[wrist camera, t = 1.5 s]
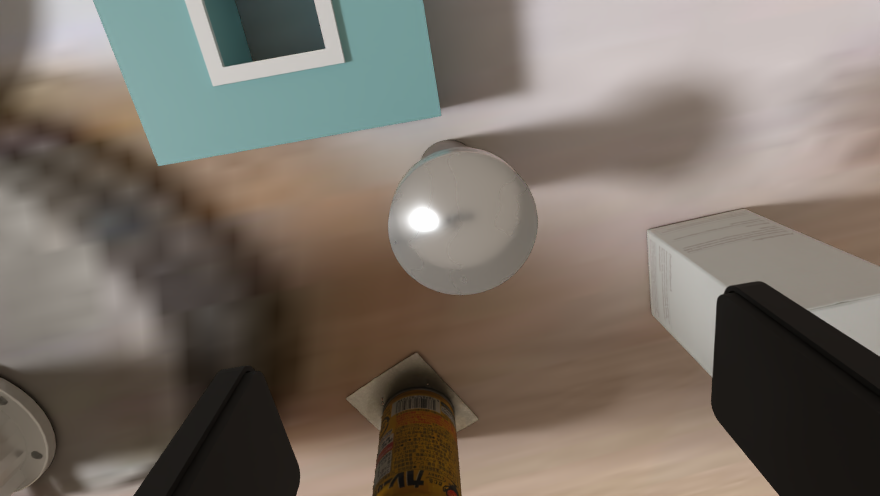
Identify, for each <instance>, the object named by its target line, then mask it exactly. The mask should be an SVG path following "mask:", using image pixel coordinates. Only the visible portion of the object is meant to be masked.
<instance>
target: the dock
mask: <svg viewBox="0 0 880 496" xmlns="http://www.w3.org/2000/svg"><path fill="white" fill-rule="evenodd" d="M93 2H94V4H95V7H96V9H97V12H98V14H99V17H100V19H101V22H102V24H103V27H104V29H105V32H106V34H107V37H108V39H109V42H110V45H111V47H112V50H113V52H114V55H115V57H116V60H117V62H118V65H119V67H120V70H121V72H122V75H123V77H124V80H125V82H126V85H127V88H128V90H129V93H130V95H131V98H132V100H133V103H134V105H135V108H136V110H137V113H138V115H139V118H140V120H141V123H142V125H143V128H144V131H145V133H146V136H147V138H148V141H149V143H150V146H151V148H152V151H153V153H154V156H155V158H156V161H157V163H158V166H161V165H167V164H173V163H178V162H184V161H190V160H195V159H201V158H207V157H212V156H218V155H223V154H229V153H235V152H240V151H246V150H252V149H257V148H263V147H269V146H274V145H280V144H286V143H291V142H297V141H303V140H308V139H314V138H320V137H325V136H331V135H337V134H342V133H348V132H353V131H359V130H365V129H370V128H376V127H382V126H387V125H393V124H399V123H404V122H410V121H416V120H421V119H427V118H433V117H438V116H441V110H440V104H439V98H438V92H437V85H436V79H435V73H434V67H433V60H432V54H431V48H430V42H429V36H428V29H427V23H426V17H425V11H424V4H423V0H314V2H315V6H316V11H317V15H318V19H319V23H320V28H321V32H322V36H323V40H324V44H325V49H321V50H315V51H310V52H304V53H299V54H293V55H288V56H282V57H277V58H271V59H266V60H260V61H255V62H253V60H252V57H251V54H250V50H249V47H248V43H247V40H246V37H245V33H244V30H243V26H242V23H241V20H240V16H239V13H238V9H237V6H236V3H235V0H93Z"/></svg>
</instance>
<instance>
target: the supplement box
mask: <svg viewBox="0 0 880 496" xmlns="http://www.w3.org/2000/svg"><path fill="white" fill-rule="evenodd" d="M647 246H648V265H649V282H650V298H651V312H652V315H653V316H654V317H655V318H656V319H657V320H658V321H659V322H660V323H661V324H662V325H663V326H664V328H665V329H666V330H667V331H668V332H669V333H670V334H671V335H672V336H673V337H674V338H675V339H676V340H677V341H678V342H679V343H680V344H681V345H682V346H683V347H684V348H685V349H686V351H687V352H688V353H689V354H690V355H691V356H692V357H693V358H694V359H695V360H696V361H697V362H698V363H699V364H700V365H701V366H702V367H703V368H704V369H705V370H706V371H707V373H708V374H709V375H710V376H711V377H713V359H714V340H715V322H716V304H717V298H718V297H719V296H720V295H722V294H724V291H725V289H726V288H727V287H728V286H731V285H737V284H743V283H749V282H755V281H762V282H764V283H766V284H768V285H769V286H771V287H772V288H774V289H775V290H777V291H779V292H780V293H782V294H783V295H785V296H786V297H788V298H789V299H791V300H793V301H794V302H796V303H797V304H799V305H800V306H802V307H804V308H805V309H807V310H808V311H810V312H811V313H813V314H814V315H816V316H818V317H819V318H821V319H822V320H824V321H825V322H827V323H828V324H830V325H832V326H833V327H835V328H836V329H838V330H839V331H841V332H842V333H844V334H846V335H847V336H849V337H850V338H852V339H853V340H855V341H857V342H858V343H860V344H861V345H863V346H864V347H866V348H867V349H869V350H871V351H872V352H874V353H875V354H877V355H878V356H880V266H878V265H875V264H873V263H871V262H868V261H866V260H864V259H861V258H859V257H857V256H854V255H852V254H849V253H847V252H845V251H843V250H840V249H838V248H836V247H833V246H831V245H829V244H826V243H824V242H822V241H819V240H817V239H814V238H812V237H810V236H807V235H805V234H803V233H800V232H798V231H796V230H793V229H791V228H789V227H786V226H784V225H781V224H779V223H777V222H775V221H772V220H770V219H768V218H765V217H763V216H761V215H758V214H756V213H754V212H751V211H749V210H747V209H740V210H735V211H731V212H726V213H721V214H717V215H712V216H708V217H703V218H699V219H694V220H690V221H685V222H681V223H676V224H672V225H667V226H663V227H658V228H654V229H649V230H647Z"/></svg>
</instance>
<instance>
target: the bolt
mask: <svg viewBox="0 0 880 496" xmlns="http://www.w3.org/2000/svg"><path fill="white" fill-rule="evenodd" d="M537 227H538V216H537V210H536V205H535V202H534V198H533V196H532V194H531V192H530V190H529V188H528V186H527V185H526V183H525V182H524V181H523V179H522V178H521V177H520V176H519V175H518V174H517V173H516V172H515V170H514V169H513V168H512V167H511V166H510V165H509V164H507V163H506V162H505V161H504V160H502V159H501V158H499V157H498V156H496V155H494V154H492V153H490V152H487V151H484V150H481V149H477V148H471V147H467V146H466V145H464V144H463V143H461V142H458V141H454V140H444V141H440V142H437V143H435V144H433V145H432V146H431V147H429V148H428V149H427V150H426V151H425V153H424V154H423V156H422V158H421V160H420V161H419V162H417V163H416V164H415V165H414V166H413V167H411V168H410V169H409V170H408V172H407V173H406V174H405V175H404V177H403V178H402V179H401V181H400V183H399V184H398V186H397V189H396V191H395V193H394V196H393V200H392V204H391V208H390V212H389V220H388V233H389V239H390V243H391V247H392V250H393V252H394V254H395V257H396V258H397V260H398V262H399V263H400V265H401V266H402V267H403V269H404V270H405V271H406V272H407V273H408V274H409V275H410V276H411V277H412V278H413V279H415V280H416V281H417V282H419V283H420V284H422V285H424V286H426V287H427V288H430V289H432V290H435V291H437V292H441V293H445V294H452V295H469V294H476V293H481V292H484V291H487V290H490V289H492V288H494V287H496V286H498V285H500V284H502V283H503V282H505V281H506V280H508V279H509V278H510V277H512V276H513V275H514V274H515V273H516V272H517V271H518V270H519V269H520V268H521V267H522V265H523V264H524V262H525V261H526V260H527V258H528V256H529V254H530V252H531V250H532V248H533V245H534V243H535V239H536V235H537Z"/></svg>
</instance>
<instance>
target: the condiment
mask: <svg viewBox="0 0 880 496" xmlns="http://www.w3.org/2000/svg"><path fill="white" fill-rule="evenodd" d="M427 383H428V385H427ZM381 398H383V399H384V400H383V401H381ZM346 399H347V400H348V401H349V402H350V403H351V404H352V405H353V406H354V407H355V408H356V409H357V410H358V411H359V412H360V413H361V414H362V415H363V416H364V417H366V418H367V419H368V421H369V422H370V423H372V424H373V425H374V426H375V427H376V428H377V429H378V430H380V434H379V445H378V454H377V460H376V469H375V478H374V485H373V496H462V495H461V483H460V470H459V458H458V445H457V433H456V432H458V431H460V430H462V429H464V428H466V427H467V426H469V425H471V424H472V423H474V422H476V421H477V420H479V419H478V418H477V417H476V416H475V415H474V413H473V412H472V411H471V410H470V409H469V408H468V407H467V406H466V404H465V403H463V401H462V400H461V399H460V398H459V397H458V396H457V395H456V394H455V393H454V391H453V390H452V389H451V388H450V387H449V386H448V385H447V384H446V383H444V382H443V381H442V379H441V378H440V377H439V376H438V375H437V374H436V372H435V371H434V370H433V369H432V368H431V367H430V366H429V365H428V364H427V363H426V362H425V361H424V360H423V359H422V358H421V357H420V356H419V355H418V353H415V354H413V355H412V356H410V357H409V358H406V359H405V360H403V361H402V362H400V363H398V364H397V365H395V366H394V367H392V368H390V369H389V370H387V371H386V372H384V373H383V374H381V375H380V376H378V377H377V378H374V379H373V380H372V381H371V382H370V383H368V384H367V385H365V386H364V387H362V388H360V389H359V390H357V391H356V392H355V393H353V394H352V395H350V396H349V397H347V398H346ZM382 402H383V403H384V405H382Z"/></svg>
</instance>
